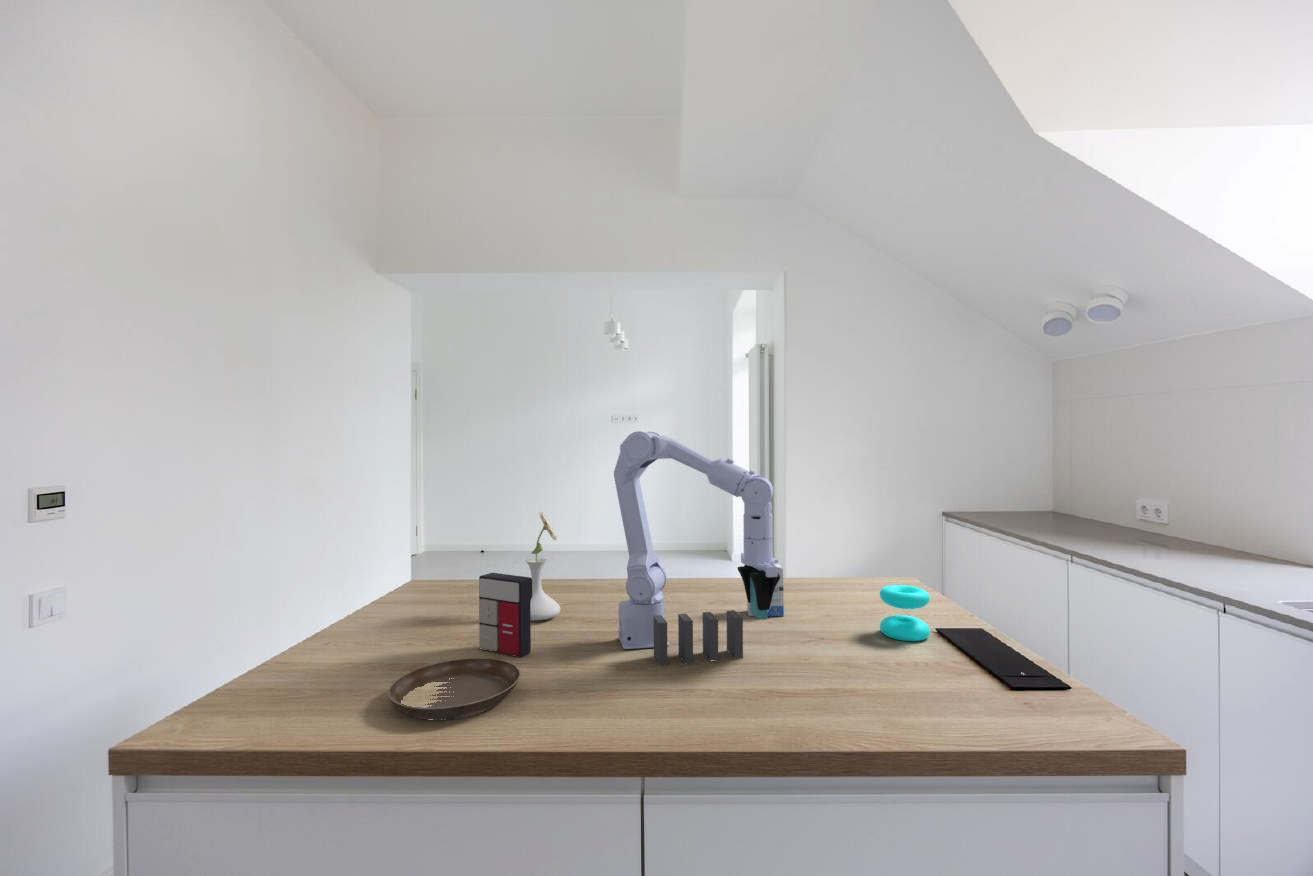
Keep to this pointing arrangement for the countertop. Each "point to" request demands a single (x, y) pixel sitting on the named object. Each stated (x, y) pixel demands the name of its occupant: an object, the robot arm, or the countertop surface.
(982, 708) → the countertop surface
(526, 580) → the toy cabinet
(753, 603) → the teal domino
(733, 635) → the black domino
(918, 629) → the donuts
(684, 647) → the black domino
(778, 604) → the ink box
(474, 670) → the plant saucer
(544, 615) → the flower in vase
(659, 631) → the black domino
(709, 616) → the domino block
